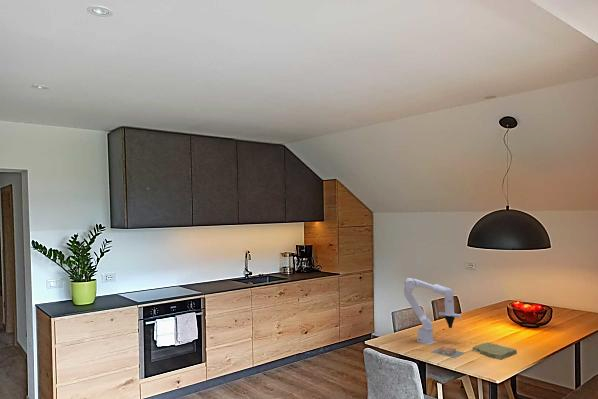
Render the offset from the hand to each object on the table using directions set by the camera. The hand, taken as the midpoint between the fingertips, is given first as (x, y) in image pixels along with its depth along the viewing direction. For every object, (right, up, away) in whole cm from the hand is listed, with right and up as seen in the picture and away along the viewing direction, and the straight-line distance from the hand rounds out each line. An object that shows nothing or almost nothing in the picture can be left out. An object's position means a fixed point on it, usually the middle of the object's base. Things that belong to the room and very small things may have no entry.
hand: (450, 327), depth 295 cm
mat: (-8, -10, -19) cm, 23 cm away
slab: (-12, -9, -17) cm, 22 cm away
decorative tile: (+19, -10, -20) cm, 30 cm away
